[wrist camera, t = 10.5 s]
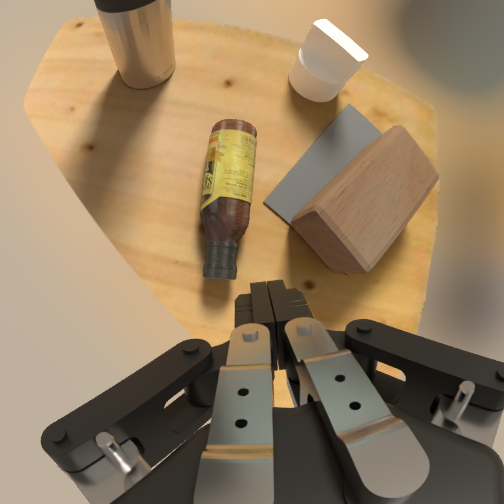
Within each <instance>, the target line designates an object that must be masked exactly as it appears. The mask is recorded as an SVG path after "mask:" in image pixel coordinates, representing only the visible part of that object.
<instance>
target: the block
mask: <svg viewBox="0 0 504 504" xmlns="http://www.w3.org/2000/svg"><path fill="white" fill-rule="evenodd" d="M438 179H439V174H438V172H437V170H436V169H435V167H434V166H433V164H432V163H431V162H430V160H429V159H428V157H427V156H426V155H425V153H424V152H423V151H422V149H421V148H420V147H419V145H418V144H417V143H416V141H415V140H414V139H413V138H412V136H411V135H410V134H409V133H408V131H407V130H406V129H405V128H404V127H403V126H402V125H396V126H394V127H392V128H391V129H389V130H388V131H386V132H385V133H384V134H382V135H381V136H380V137H378V138H377V139H375V140H374V141H373V142H371V143H370V144H368V145H367V146H366V147H365V148H364V149H363V150H362V151H361V152H360V153H359V154H358V155H357V156H356V157H355V158H354V159H352V160H351V161H350V162H349V163H348V164H347V165H346V166H345V167H344V168H343V169H342V170H341V171H340V172H339V173H338V174H337V175H336V176H335V177H334V178H333V179H332V180H331V181H330V182H329V183H328V184H327V185H326V186H324V187H323V188H322V189H321V190H320V191H319V192H318V193H317V194H316V195H315V196H314V197H313V198H312V199H311V200H310V201H309V202H308V203H307V204H306V205H305V206H304V207H303V208H302V209H301V210H300V211H298V212H297V213H296V214H295V215H294V216H293V218H292V220H291V224H292V227H293V228H294V229H295V230H296V231H297V233H298V234H299V235H300V236H301V237H302V238H303V239H304V240H305V242H306V243H307V244H308V245H309V246H310V247H311V248H312V249H313V251H314V252H315V253H316V254H317V255H318V256H319V257H320V259H321V260H322V261H323V262H324V263H325V264H326V265H327V267H328V268H329V269H330V270H331V271H333V272H335V273H360V274H365V273H367V272H369V271H370V270H371V269H372V268H373V267H374V266H375V265H376V263H377V262H378V261H379V260H380V258H381V257H382V256H383V255H384V253H385V252H386V251H387V250H388V248H389V247H390V246H391V244H392V243H393V242H394V241H395V239H396V238H397V237H398V235H399V234H400V233H401V231H402V230H403V229H404V227H405V226H406V225H407V223H408V222H409V221H410V219H411V218H412V217H413V215H414V214H415V212H416V211H417V210H418V208H419V207H420V205H421V204H422V203H423V201H424V200H425V198H426V197H427V195H428V194H429V193H430V191H431V190H432V188H433V187H434V185H435V184H436V182H437V181H438Z"/></svg>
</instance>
